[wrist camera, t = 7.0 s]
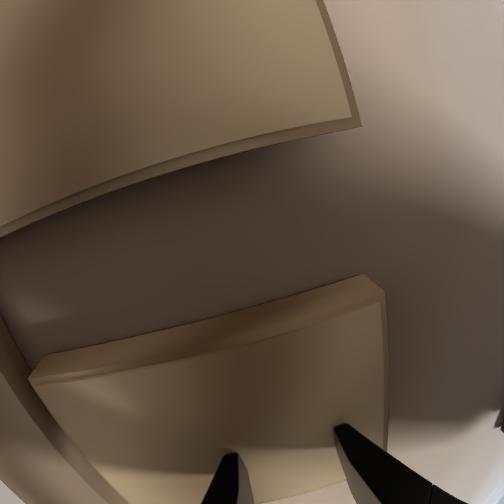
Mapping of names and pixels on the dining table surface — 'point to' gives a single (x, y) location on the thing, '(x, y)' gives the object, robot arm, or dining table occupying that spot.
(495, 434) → the dining table surface
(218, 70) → the plank front
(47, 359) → the plank rear
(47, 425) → the tan wooden tile
